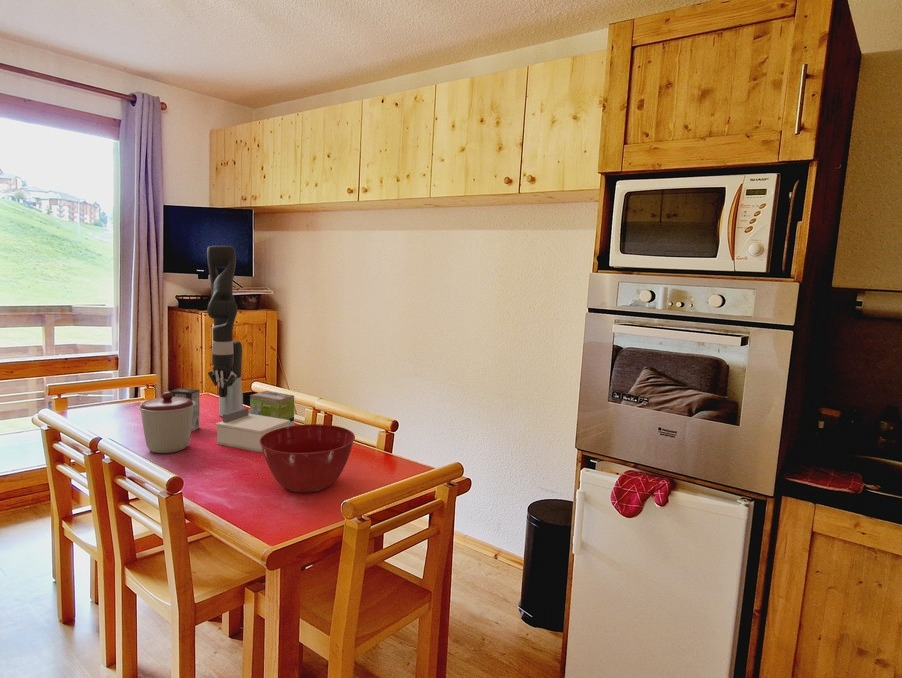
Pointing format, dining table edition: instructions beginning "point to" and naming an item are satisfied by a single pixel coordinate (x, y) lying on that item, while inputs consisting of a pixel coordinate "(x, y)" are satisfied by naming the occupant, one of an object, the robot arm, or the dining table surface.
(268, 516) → the dining table surface
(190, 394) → the coffee box
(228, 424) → the lid
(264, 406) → the tea box
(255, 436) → the box
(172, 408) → the canister
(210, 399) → the dining table surface
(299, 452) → the mixing bowl
